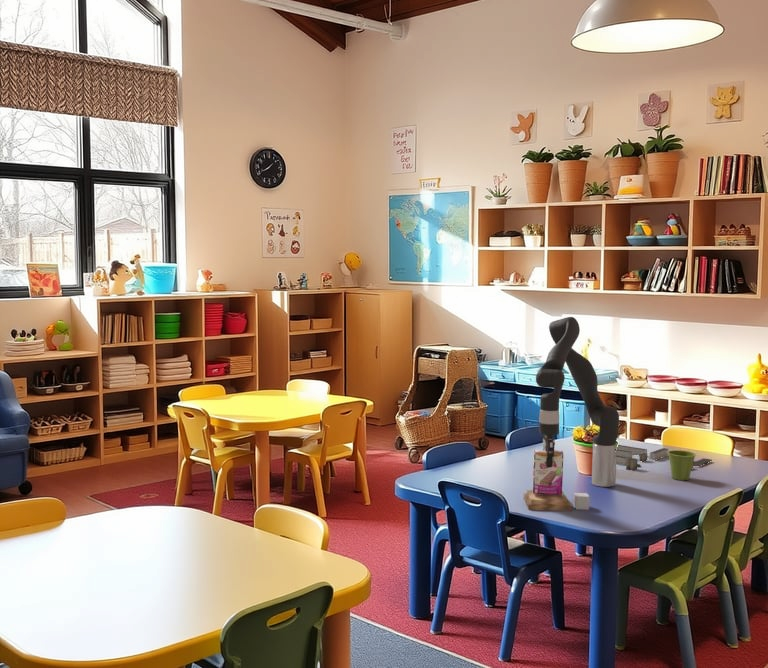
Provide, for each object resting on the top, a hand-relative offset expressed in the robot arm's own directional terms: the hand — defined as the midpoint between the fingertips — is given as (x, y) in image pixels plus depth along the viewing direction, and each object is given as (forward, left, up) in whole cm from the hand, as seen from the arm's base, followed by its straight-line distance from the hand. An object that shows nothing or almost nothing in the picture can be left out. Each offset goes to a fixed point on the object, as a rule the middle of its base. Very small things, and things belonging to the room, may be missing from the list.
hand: (548, 465), depth 338 cm
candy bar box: (0, 0, -11) cm, 11 cm away
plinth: (0, 0, -15) cm, 15 cm away
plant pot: (-64, -46, -15) cm, 80 cm away
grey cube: (-12, +3, -15) cm, 20 cm away
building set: (-57, -78, -16) cm, 98 cm away
